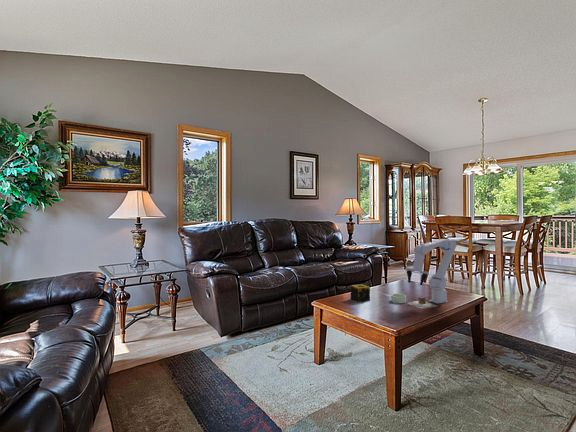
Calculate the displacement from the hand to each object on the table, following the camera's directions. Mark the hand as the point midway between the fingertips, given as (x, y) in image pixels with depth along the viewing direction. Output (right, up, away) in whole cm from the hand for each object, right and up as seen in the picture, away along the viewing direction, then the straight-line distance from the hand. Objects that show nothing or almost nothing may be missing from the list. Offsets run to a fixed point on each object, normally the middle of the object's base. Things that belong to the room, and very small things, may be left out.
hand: (415, 283), depth 210 cm
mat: (+5, -14, +2) cm, 16 cm away
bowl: (-7, -15, +10) cm, 19 cm away
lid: (+5, -14, +2) cm, 15 cm away
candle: (-32, -15, +17) cm, 39 cm away
